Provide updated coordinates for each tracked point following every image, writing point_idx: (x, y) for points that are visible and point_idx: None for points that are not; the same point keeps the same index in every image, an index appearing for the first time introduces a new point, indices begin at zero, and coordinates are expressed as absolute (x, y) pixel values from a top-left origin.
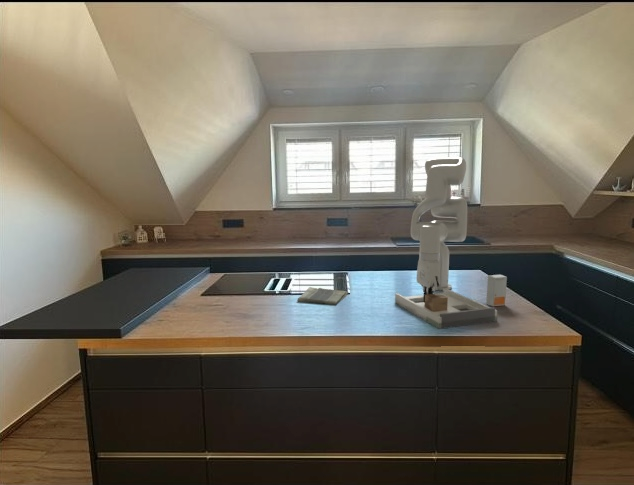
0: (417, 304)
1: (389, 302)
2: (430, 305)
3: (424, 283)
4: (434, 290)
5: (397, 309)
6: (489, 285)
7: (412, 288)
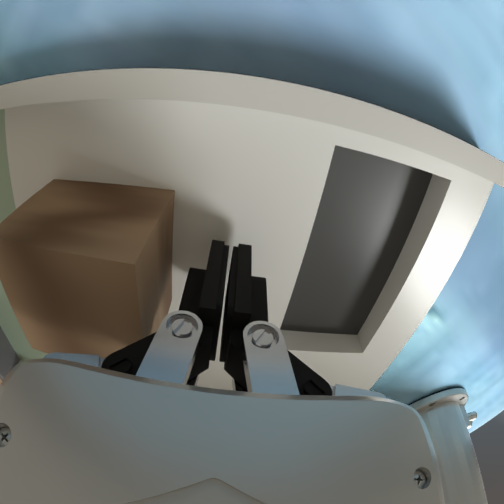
0: (120, 91)
1: (499, 123)
2: (66, 200)
3: (123, 420)
4: (46, 357)
5: (361, 30)
6: None
7: (491, 354)
